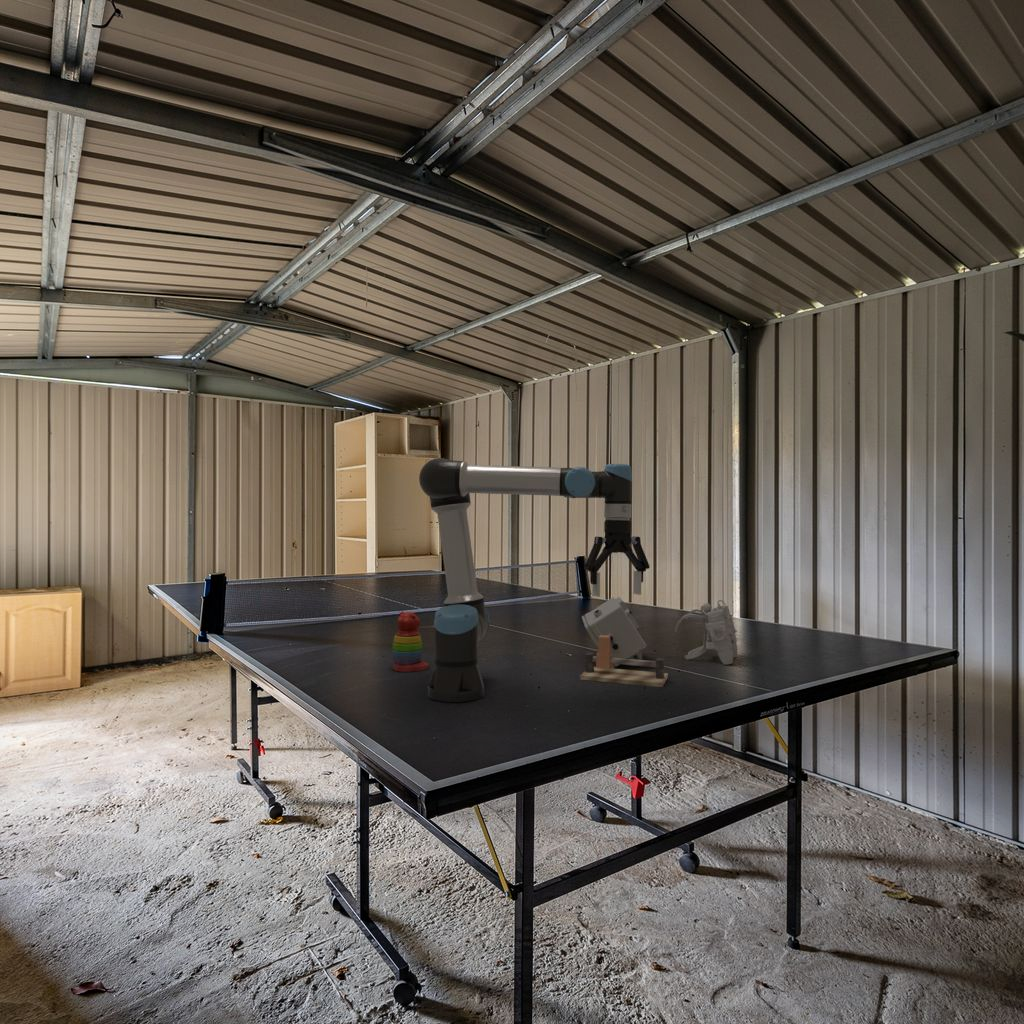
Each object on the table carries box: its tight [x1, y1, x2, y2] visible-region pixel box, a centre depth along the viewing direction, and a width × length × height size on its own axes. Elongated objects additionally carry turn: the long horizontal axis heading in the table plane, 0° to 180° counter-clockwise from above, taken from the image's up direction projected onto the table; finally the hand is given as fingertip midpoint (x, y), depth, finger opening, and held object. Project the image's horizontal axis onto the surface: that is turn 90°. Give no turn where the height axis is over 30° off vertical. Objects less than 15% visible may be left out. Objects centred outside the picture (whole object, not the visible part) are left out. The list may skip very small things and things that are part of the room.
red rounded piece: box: [391, 611, 430, 673], centre depth 207 cm, size 11×10×18 cm
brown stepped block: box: [595, 635, 612, 669], centre depth 197 cm, size 4×4×9 cm
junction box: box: [581, 596, 647, 669], centre depth 216 cm, size 24×15×22 cm
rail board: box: [579, 652, 669, 688], centre depth 195 cm, size 24×12×6 cm, turn 70°
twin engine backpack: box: [674, 599, 738, 665], centre depth 221 cm, size 18×19×20 cm
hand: (617, 595), depth 184 cm, fingers open, 13 cm apart
